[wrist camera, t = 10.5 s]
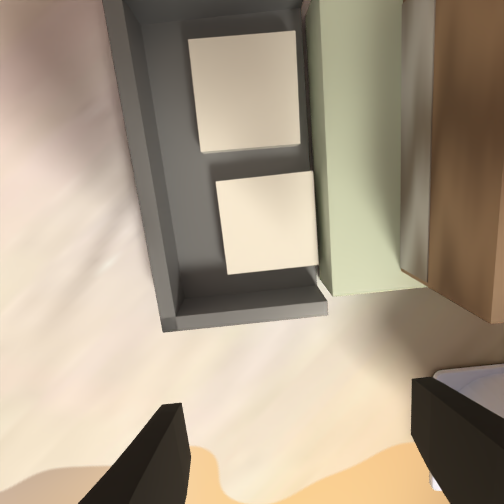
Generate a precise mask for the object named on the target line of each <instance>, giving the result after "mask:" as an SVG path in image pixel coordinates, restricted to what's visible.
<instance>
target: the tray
mask: <svg viewBox="0 0 504 504" xmlns="http://www.w3.org/2000/svg"><path fill="white" fill-rule="evenodd" d="M102 2H103V7H104V13H105V18H106V24H107V29H108V34H109V40H110V45H111V51H112V56H113V62H114V67H115V73H116V78H117V84H118V89H119V95H120V100H121V106H122V111H123V117H124V122H125V128H126V133H127V139H128V144H129V150H130V155H131V161H132V166H133V172H134V177H135V183H136V188H137V194H138V199H139V205H140V210H141V216H142V221H143V227H144V232H145V238H146V243H147V249H148V254H149V260H150V265H151V270H152V276H153V281H154V287H155V292H156V298H157V303H158V309H159V314H160V320H161V325H162V331H163V332H173V331H182V330H192V329H202V328H211V327H221V326H231V325H240V324H250V323H260V322H269V321H279V320H288V319H298V318H308V317H317V316H327V315H328V303H327V300H326V298H325V297H324V295H323V294H322V292H321V291H320V289H319V288H318V286H317V282H316V265H312V266H303V267H294V268H285V269H276V270H266V271H257V272H248V273H239V274H229V275H228V273H227V265H226V258H225V250H224V242H223V235H222V227H221V219H220V212H219V204H218V196H217V188H216V181H224V180H234V179H243V178H252V177H261V176H270V175H279V174H288V173H297V172H307V171H310V161H309V143H308V126H307V109H306V91H305V74H304V57H303V39H302V22H301V5H302V2H303V0H102ZM284 31H296V54H297V77H298V100H299V122H300V144H299V145H297V146H291V147H279V148H267V149H255V150H243V151H231V152H219V153H207V154H203V153H202V152H201V150H200V141H199V132H198V124H197V115H196V106H195V97H194V88H193V79H192V71H191V62H190V53H189V44H188V39H199V38H211V37H223V36H235V35H247V34H260V33H272V32H284Z"/></svg>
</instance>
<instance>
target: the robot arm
mask: <svg viewBox="0 0 504 504" xmlns="http://www.w3.org/2000/svg"><path fill="white" fill-rule="evenodd" d="M411 435H412V437H413V439H414V441H415V443H416V445H417V448H418V450H419V452H420V454H421V456H422V458H423V459H424V461H425V463H426V465H427V467H428V469H429V471H430V476H429V477H430V479H429V483H430V485H431V487H432V488H433V489H434V490H436V491H443V493H444V494H445V496H446V497H447V499H448V501H449V502H450V504H504V364H496V365H486V366H476V367H466V368H457V369H447V370H439V371H437V372H436V373H435V374H434V375H433V377H425V378H415V379H412V404H411ZM190 461H191V453H190V448H189V442H188V436H187V431H186V425H185V419H184V414H183V408H182V403H173V404H164V405H161V407H160V408H159V409H158V410H157V411H156V413H155V414H154V415H153V416H152V418H151V419H150V420H149V421H148V423H147V424H146V425H145V426H144V428H143V429H142V430H141V431H140V433H139V434H138V435H137V436H136V438H135V439H134V440H133V441H132V443H131V444H130V445H129V446H128V447H127V449H126V450H125V451H124V452H123V453H122V455H121V456H120V457H119V458H118V459H117V461H116V462H115V463H114V464H113V465H112V467H111V468H110V469H109V470H108V471H107V472H106V473H105V475H104V476H103V477H102V478H101V479H100V480H99V481H98V482H97V484H96V485H95V486H94V487H93V488H92V489H91V490H90V491H89V492H88V493H87V494H86V496H85V497H84V498H83V499H82V500H81V501H80V502H79V503H78V504H185V500H186V495H187V488H188V480H189V472H190V463H191V462H190Z"/></svg>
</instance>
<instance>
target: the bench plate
mask: <svg viewBox="0 0 504 504" xmlns="http://www.w3.org/2000/svg"><path fill="white" fill-rule="evenodd" d="M402 4H403V0H311V3H310V5H309V8H308V11H307V13H306V16H305V23H306V42H307V60H308V78H309V96H310V114H311V132H312V150H313V169H314V187H315V205H316V223H317V241H318V259H319V277H320V280H321V281H322V283H323V284H324V285H325V287H326V288H327V290H328V291H329V292H330V294H331V295H332V296H333V297H337V296H347V295H356V294H366V293H375V292H385V291H395V290H404V289H414V288H424V287H427V286H425V285H424V284H422V283H420V282H419V281H417V280H415V279H414V278H412V277H410V276H409V275H407V274H405V273H404V272H402V271H401V268H400V204H401V47H402Z"/></svg>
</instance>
